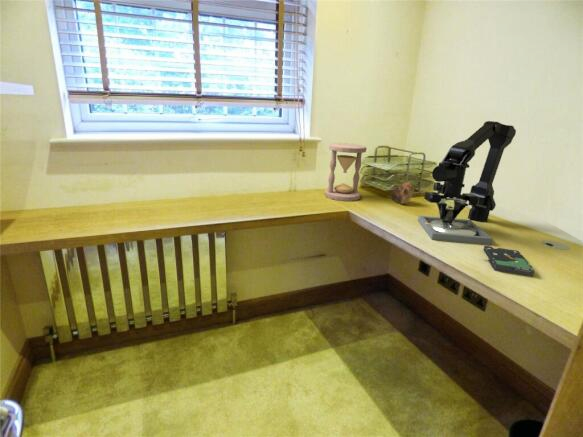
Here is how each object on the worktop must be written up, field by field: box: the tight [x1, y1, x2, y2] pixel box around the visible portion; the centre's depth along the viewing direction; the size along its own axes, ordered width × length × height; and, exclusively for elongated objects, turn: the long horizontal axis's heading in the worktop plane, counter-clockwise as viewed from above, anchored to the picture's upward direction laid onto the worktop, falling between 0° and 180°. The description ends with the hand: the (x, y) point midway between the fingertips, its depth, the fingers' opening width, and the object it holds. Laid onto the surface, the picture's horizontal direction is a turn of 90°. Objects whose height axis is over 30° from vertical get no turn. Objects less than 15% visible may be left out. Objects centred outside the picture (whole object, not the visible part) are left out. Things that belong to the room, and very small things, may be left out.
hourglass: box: [324, 142, 367, 202], centre depth 168 cm, size 18×18×25 cm
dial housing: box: [417, 215, 493, 246], centre depth 129 cm, size 20×20×3 cm
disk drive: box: [483, 245, 535, 278], centre depth 107 cm, size 10×3×15 cm
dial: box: [429, 207, 477, 236], centre depth 128 cm, size 16×16×7 cm
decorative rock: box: [391, 180, 415, 205], centre depth 165 cm, size 12×6×11 cm, turn 15°
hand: (447, 219), depth 134 cm, fingers open, 4 cm apart
